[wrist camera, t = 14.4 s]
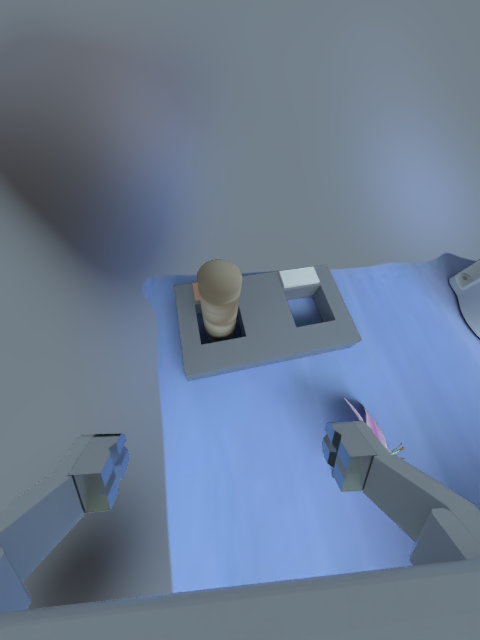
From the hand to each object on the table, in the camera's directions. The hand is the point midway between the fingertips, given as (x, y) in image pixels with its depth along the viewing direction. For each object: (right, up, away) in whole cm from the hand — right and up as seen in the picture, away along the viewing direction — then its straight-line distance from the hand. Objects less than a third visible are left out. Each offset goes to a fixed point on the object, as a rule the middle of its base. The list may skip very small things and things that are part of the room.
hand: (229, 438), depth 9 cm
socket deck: (+4, +5, +23) cm, 23 cm away
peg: (-2, +4, +22) cm, 22 cm away
